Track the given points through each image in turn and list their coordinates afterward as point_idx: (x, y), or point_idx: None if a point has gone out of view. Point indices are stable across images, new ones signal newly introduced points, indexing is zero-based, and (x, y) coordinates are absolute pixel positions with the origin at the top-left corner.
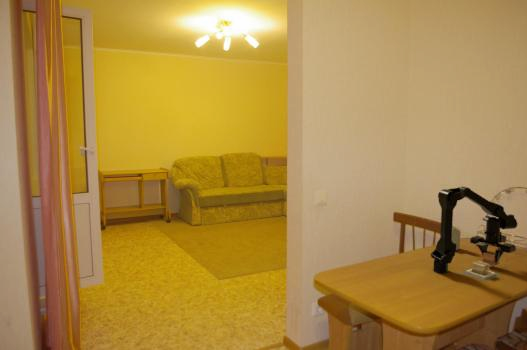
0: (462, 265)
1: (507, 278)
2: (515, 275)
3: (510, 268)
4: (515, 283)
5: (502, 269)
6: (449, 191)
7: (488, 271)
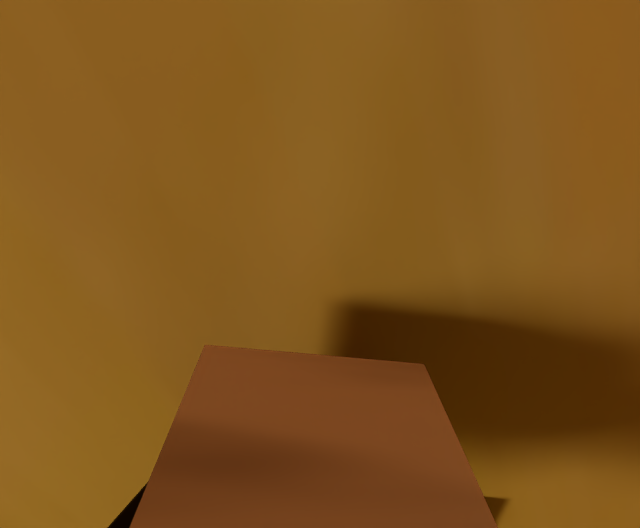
0: (14, 480)
1: (546, 477)
2: (623, 345)
3: (536, 95)
4: (625, 525)
5: (435, 253)
6: None
7: None
